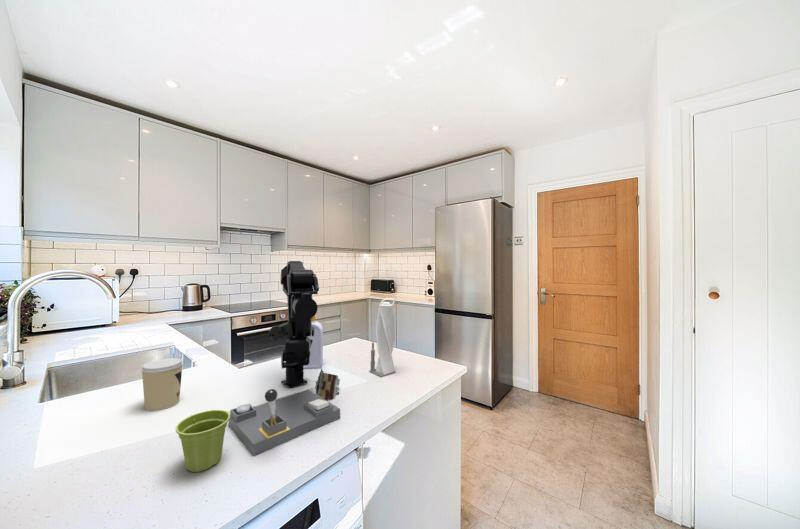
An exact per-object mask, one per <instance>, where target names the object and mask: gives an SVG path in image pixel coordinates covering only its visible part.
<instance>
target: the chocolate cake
mask: <svg viewBox="0 0 800 529" xmlns="http://www.w3.org/2000/svg"><path fill="white" fill-rule="evenodd" d="M340 382H341V379H340V378H339V375H336V374H334V373H333V374H332V373H328V372H324V370H323V368H321V370H320V372H319V374H318V377H317V380H316V383H315V386H314V390H315V394H317V395H319V396H320V397H322V398H323V399H325V400H330V401H333V400H334V399H335V397H336V395H339V393H340V392H339V389H340V388H339V387H340V386H339V385H340Z"/></svg>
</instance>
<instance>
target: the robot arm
mask: <svg viewBox="0 0 800 529" xmlns="http://www.w3.org/2000/svg"><path fill="white" fill-rule="evenodd" d="M280 270H281V271H280V281H279V282H280V285H282V291H283V293H284V294H285V295H286V297H287V300H286V301H287V322H284V323H280V324H276V325H272V326H271V327H270V329H269V330H268V333H269V334H268V337H269V338H271V342H275V341H278V340H279V339H281V338H284V337H286V336H287V339H286V340H285V343H284V345H283V349H282V350H281V356H280V357H281V358H280V364H281V369H282V370H283V369H285V379H284V380H281V384H282V385H284V386H285V387H287V388H289V389H291V388H294V387H298V386H301V385H304V384H307V383H308V380H306V379H304V369H303V366H304V365H308V364H309V359H310V351H309V350H310V347H311V344H312V341H313V340H310V339H309V338H308V336H311V334H312V336H314V334H315V329H314V328H313V327H312V317H313V316H315V317H316V315H317V312H318V304H317V302H316V300H315V299H313V295H318V292H319V290H320V286H319V280H318V277H317V274H316V273H314V270H312V269H306V268H305V267H304V261H301V260H289V261H287V263H286V265H285V266H284V267H283V268H282V269H280Z"/></svg>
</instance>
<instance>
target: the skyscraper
mask: <svg viewBox="0 0 800 529" xmlns="http://www.w3.org/2000/svg"><path fill="white" fill-rule="evenodd" d="M386 300H393V301H392V303H391V302H389V301H386ZM395 302H396V298H395V297H387V298H386V297H385V298H384V299H382V300H381V302H380V303H379V304H378V311H377V316H376V324H375V340H376V347H377V353H378V358H377V362H376V361H375V358H376V357H375V356H376V354H375V353H376V352H375V351H376V350H375V342H371V349H370V370H369V371H368V372H369V373H370V374H373V375H376V376H377V377H380V378H383V377H387V376H389V375H393V374H396V369H395V365H394V364H395V363H394V360H393V355H392V354H393V351H394V346H395V341H396V335H397V334H396V332H397V327H396V326H397V323H396V322H397V321H396V317H395V315H396V314H395V311H394V305H395ZM376 363H377V364H376Z"/></svg>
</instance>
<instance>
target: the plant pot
mask: <svg viewBox="0 0 800 529" xmlns="http://www.w3.org/2000/svg"><path fill="white" fill-rule="evenodd" d="M229 419H230V412H228V411H227V410H224V409H209V410H205V411H201V412H197V413H194V414H192V415H189V416H187V417H186V418H185V417H184V419H182V420H181V421H179V422H178V423H177V424H176V426H175V432H176V434H178V438H179V439H180V443H181V448H182V452H183V457H184V464H185V469H186V470H187V471H190V472H191V473H197V472H198V473H199V472H204V471H206V470H209V469H211V467H212V466H214V465H216V464H218V463H219V462H220V461H221V459H222V454H223V447H224V440H225V434H226V433H225V432H226V429H227V426H228V421H229Z"/></svg>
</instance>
